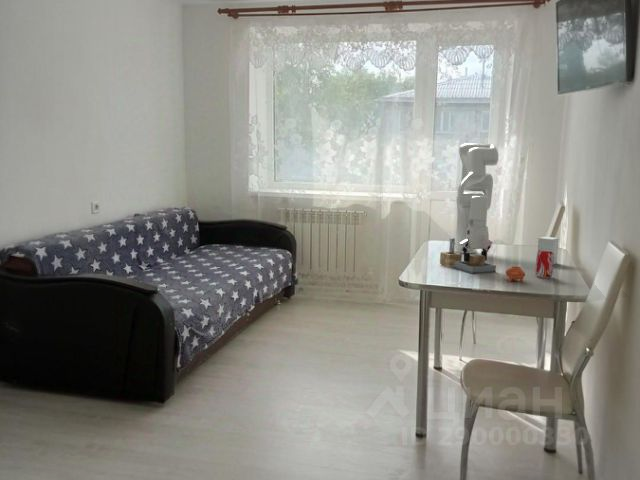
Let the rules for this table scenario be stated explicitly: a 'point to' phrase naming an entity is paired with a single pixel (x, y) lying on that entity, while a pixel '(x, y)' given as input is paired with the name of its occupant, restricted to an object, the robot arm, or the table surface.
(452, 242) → the cylinder
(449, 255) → the oak block
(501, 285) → the table surface
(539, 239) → the supplement box
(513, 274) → the pot
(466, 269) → the tray
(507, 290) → the table surface
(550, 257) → the soda can
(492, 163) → the robot arm
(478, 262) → the walnut block
